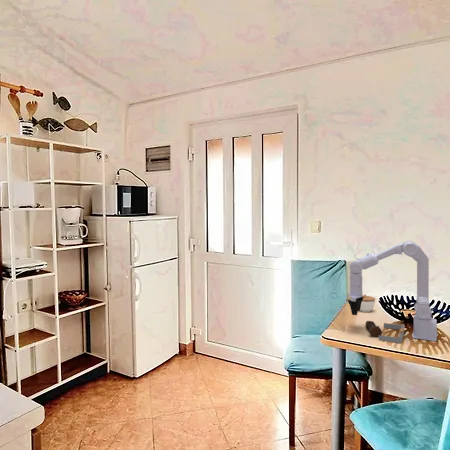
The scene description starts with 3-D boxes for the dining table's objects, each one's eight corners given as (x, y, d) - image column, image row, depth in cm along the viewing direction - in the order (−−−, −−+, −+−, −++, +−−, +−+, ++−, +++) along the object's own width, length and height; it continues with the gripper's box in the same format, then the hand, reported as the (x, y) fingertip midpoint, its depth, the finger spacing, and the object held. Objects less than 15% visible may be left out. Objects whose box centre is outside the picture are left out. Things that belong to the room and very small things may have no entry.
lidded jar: (351, 309, 212) (351, 293, 212) (364, 307, 217) (364, 292, 216) (365, 314, 202) (365, 297, 202) (379, 311, 207) (379, 295, 207)
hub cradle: (404, 329, 175) (404, 323, 175) (401, 343, 156) (401, 337, 156) (383, 326, 179) (384, 321, 179) (378, 340, 161) (378, 333, 161)
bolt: (370, 331, 179) (377, 340, 164) (361, 325, 180) (367, 334, 165) (376, 321, 178) (384, 329, 164) (367, 315, 179) (374, 323, 164)
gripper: (350, 282, 183) (350, 308, 184) (344, 287, 171) (344, 315, 171) (365, 283, 180) (364, 310, 180) (360, 288, 167) (359, 317, 168)
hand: (355, 312), depth 175 cm, fingers open, 7 cm apart
